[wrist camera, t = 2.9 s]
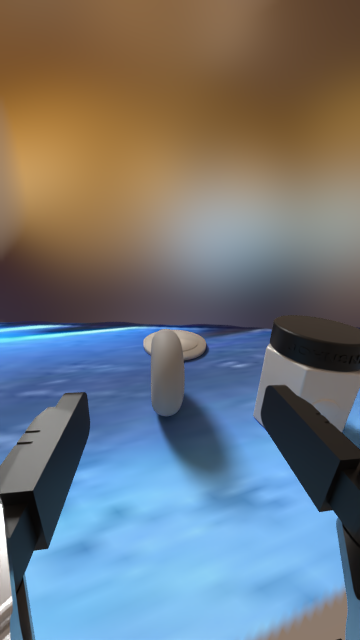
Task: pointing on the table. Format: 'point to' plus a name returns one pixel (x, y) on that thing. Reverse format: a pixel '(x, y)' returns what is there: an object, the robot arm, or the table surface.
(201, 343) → the plate
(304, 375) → the jar
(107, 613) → the table surface
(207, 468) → the table surface
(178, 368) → the donut
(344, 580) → the robot arm
